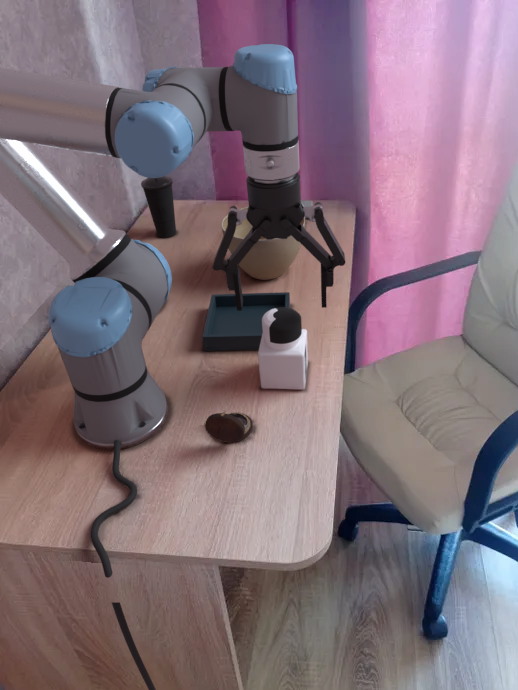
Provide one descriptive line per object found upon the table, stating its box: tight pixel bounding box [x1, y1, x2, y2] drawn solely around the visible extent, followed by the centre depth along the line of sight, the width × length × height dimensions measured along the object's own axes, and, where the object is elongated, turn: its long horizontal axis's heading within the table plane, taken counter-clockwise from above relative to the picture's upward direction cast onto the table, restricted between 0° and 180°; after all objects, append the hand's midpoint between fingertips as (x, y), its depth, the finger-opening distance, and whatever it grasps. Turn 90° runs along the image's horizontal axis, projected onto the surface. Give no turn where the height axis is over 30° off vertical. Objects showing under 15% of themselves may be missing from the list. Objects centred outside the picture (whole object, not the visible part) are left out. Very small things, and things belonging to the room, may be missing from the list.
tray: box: [201, 291, 291, 352], centre depth 115 cm, size 15×16×3 cm
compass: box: [203, 410, 254, 443], centre depth 91 cm, size 8×8×7 cm
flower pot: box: [220, 206, 306, 281], centre depth 129 cm, size 18×18×12 cm
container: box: [257, 307, 309, 391], centre depth 100 cm, size 8×8×13 cm
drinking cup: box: [140, 175, 177, 239], centre depth 144 cm, size 8×8×20 cm
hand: (281, 304), depth 94 cm, fingers open, 13 cm apart
